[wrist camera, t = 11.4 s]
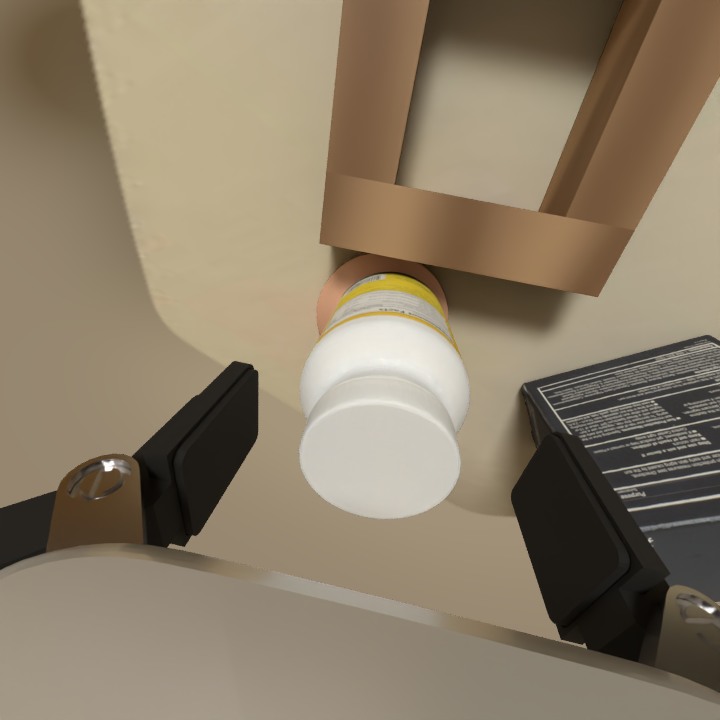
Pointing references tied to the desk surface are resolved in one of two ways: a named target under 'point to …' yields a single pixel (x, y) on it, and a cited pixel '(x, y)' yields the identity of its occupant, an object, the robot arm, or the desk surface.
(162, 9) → the desk surface
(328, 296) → the coaster
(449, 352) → the pill bottle
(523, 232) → the pocket holder
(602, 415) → the small box
